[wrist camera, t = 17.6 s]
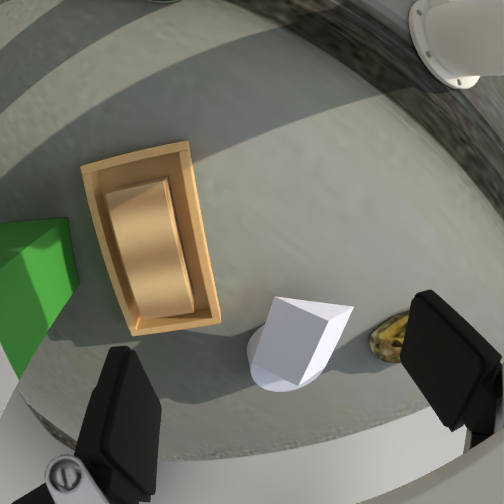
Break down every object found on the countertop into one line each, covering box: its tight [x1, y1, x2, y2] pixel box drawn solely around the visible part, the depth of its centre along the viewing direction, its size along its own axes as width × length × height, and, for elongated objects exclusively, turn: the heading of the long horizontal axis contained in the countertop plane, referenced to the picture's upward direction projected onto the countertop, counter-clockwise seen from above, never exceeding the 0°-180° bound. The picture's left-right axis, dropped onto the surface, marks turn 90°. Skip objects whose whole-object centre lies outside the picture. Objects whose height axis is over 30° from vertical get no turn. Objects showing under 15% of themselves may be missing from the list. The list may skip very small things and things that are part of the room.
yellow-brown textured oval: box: [369, 311, 409, 363], centre depth 37 cm, size 9×5×15 cm
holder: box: [80, 140, 221, 336], centre depth 27 cm, size 18×10×3 cm, turn 7°
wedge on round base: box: [247, 296, 353, 392], centre depth 31 cm, size 9×7×13 cm
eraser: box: [105, 175, 194, 320], centre depth 26 cm, size 12×5×4 cm, turn 7°
